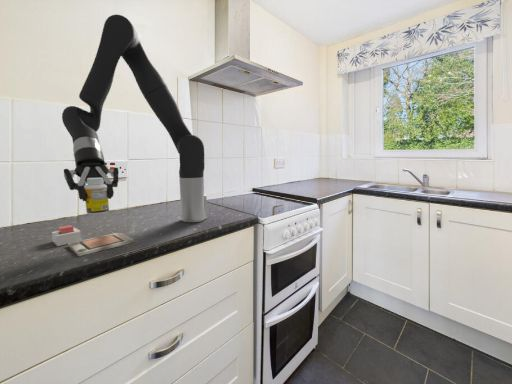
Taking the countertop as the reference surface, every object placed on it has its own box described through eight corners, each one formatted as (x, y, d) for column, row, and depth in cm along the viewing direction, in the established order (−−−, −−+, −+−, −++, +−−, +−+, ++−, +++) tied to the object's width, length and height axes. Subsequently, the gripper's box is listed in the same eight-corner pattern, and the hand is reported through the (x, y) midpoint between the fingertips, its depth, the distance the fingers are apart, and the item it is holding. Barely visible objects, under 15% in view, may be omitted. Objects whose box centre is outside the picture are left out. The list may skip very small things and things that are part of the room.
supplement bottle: (87, 212, 74) (83, 177, 72) (109, 210, 77) (106, 176, 75) (86, 216, 69) (82, 179, 67) (109, 214, 72) (106, 178, 70)
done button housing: (76, 236, 81) (75, 227, 81) (81, 240, 77) (80, 231, 77) (52, 241, 77) (51, 232, 76) (57, 246, 73) (56, 236, 72)
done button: (71, 232, 79) (70, 224, 78) (73, 234, 77) (72, 226, 76) (59, 235, 76) (58, 227, 76) (61, 237, 74) (60, 228, 74)
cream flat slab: (119, 234, 83) (119, 231, 83) (134, 242, 76) (133, 239, 76) (68, 246, 72) (67, 243, 72) (79, 256, 65) (78, 252, 65)
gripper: (58, 145, 71) (65, 192, 64) (115, 146, 80) (127, 187, 73) (60, 163, 76) (66, 209, 69) (114, 162, 85) (124, 203, 78)
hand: (97, 198), depth 71 cm, fingers closed on supplement bottle, 5 cm apart
